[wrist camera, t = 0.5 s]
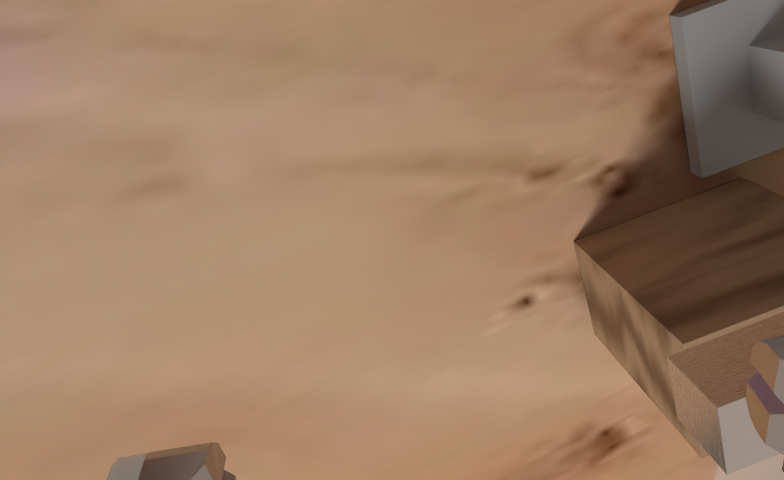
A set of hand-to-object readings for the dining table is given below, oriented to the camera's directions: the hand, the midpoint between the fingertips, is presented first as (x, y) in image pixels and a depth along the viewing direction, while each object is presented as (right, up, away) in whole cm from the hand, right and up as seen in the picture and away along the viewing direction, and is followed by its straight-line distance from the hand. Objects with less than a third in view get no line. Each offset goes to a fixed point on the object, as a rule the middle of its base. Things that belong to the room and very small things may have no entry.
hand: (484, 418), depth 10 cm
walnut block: (+20, +1, +44) cm, 48 cm away
